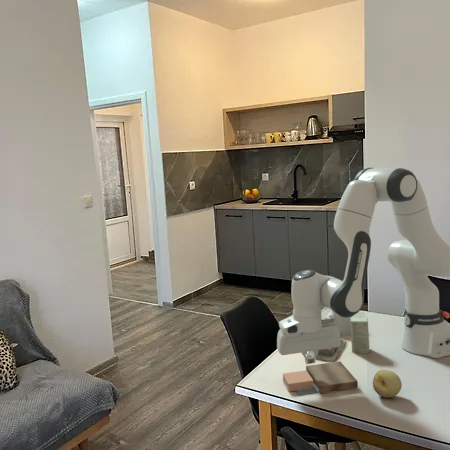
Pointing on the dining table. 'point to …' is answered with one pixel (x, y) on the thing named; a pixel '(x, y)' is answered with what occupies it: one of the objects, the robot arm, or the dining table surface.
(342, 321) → the grey block
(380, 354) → the dining table surface
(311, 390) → the slate mat
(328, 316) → the figurine
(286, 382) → the terracotta tile
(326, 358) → the packaged product
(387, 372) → the fruit
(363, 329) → the skincare box
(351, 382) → the walnut stand
